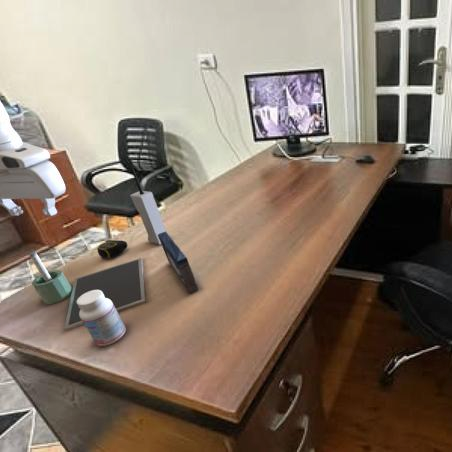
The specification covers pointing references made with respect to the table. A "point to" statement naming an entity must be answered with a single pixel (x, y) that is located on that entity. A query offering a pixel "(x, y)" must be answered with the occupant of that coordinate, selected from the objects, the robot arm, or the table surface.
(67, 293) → the pen cup
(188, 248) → the table surface
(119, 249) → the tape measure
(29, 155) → the robot arm
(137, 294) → the tablet
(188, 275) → the vhs cassette tape
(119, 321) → the pill bottle
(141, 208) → the vintage mobile phone
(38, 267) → the stylus
